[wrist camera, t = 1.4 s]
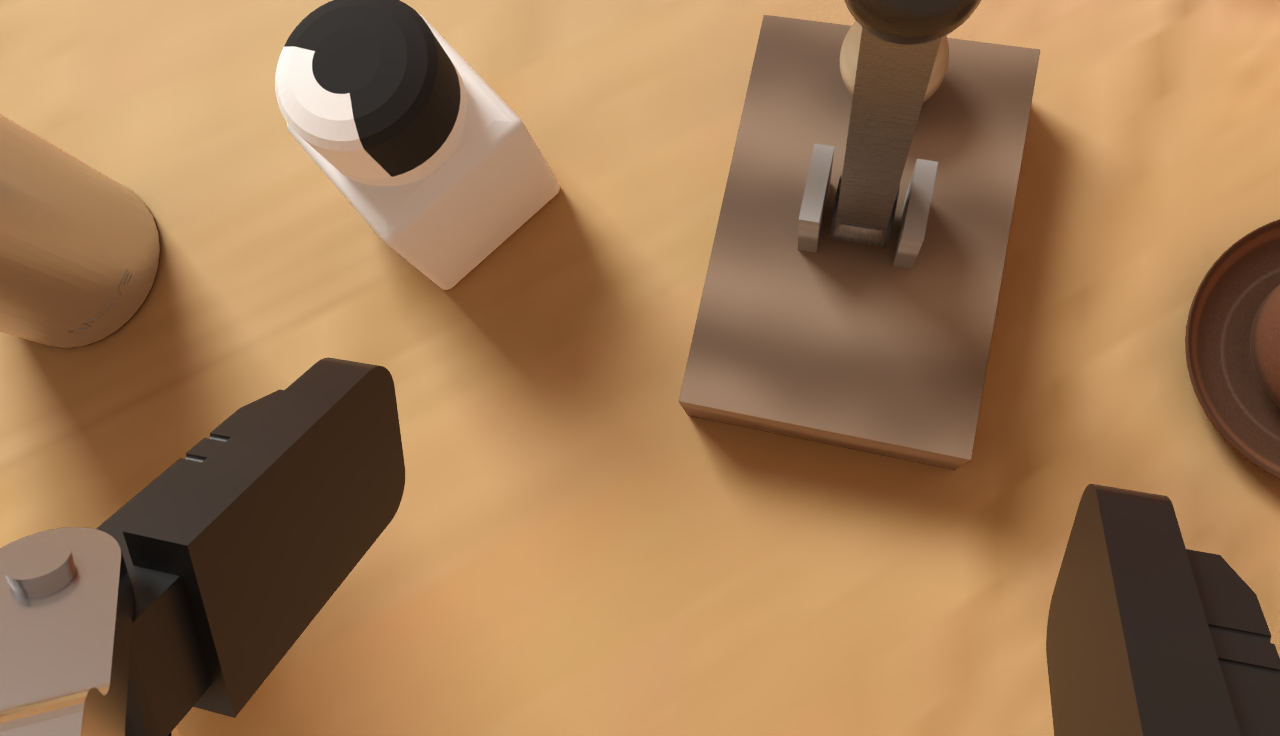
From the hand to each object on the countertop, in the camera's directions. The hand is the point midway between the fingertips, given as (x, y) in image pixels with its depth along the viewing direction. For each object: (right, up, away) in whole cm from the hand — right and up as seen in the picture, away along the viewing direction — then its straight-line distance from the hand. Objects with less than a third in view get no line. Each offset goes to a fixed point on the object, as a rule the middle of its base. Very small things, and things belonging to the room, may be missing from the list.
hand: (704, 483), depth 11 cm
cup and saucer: (+28, +2, +31) cm, 42 cm away
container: (-10, +10, +38) cm, 41 cm away
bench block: (+9, +7, +35) cm, 36 cm away
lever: (+9, +8, +30) cm, 33 cm away
